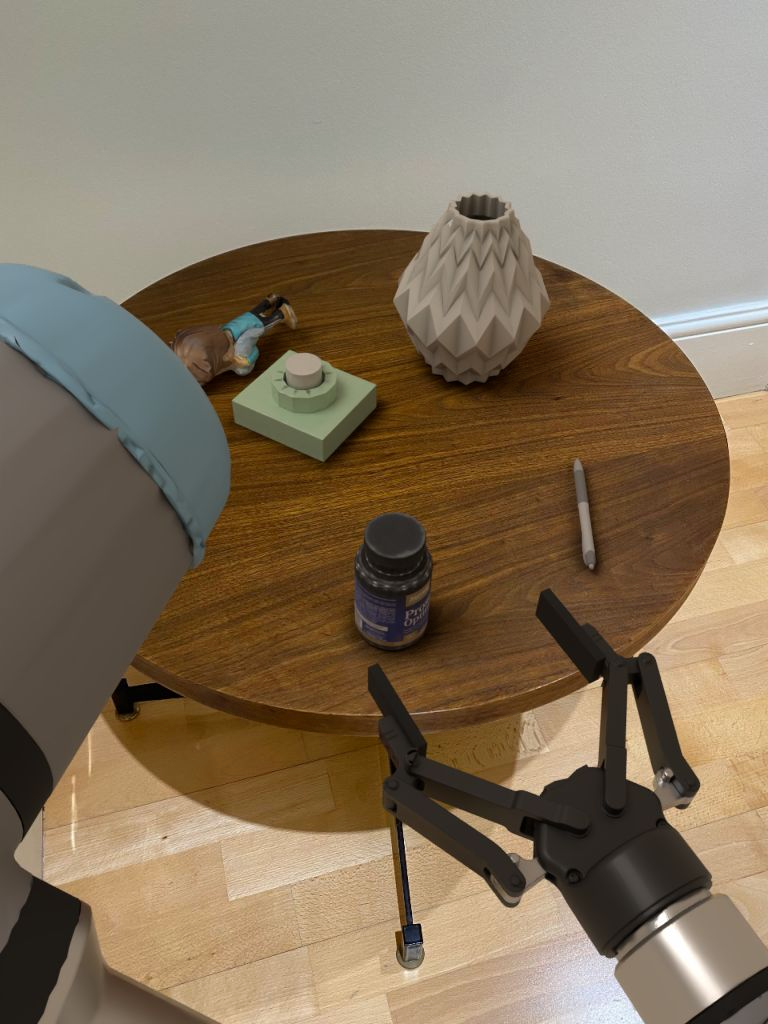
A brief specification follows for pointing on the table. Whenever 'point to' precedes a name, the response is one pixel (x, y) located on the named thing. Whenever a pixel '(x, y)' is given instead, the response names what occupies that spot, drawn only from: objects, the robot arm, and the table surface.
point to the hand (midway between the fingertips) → (460, 636)
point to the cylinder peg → (303, 371)
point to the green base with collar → (305, 408)
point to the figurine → (230, 340)
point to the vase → (472, 290)
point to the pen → (584, 515)
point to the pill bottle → (392, 582)
